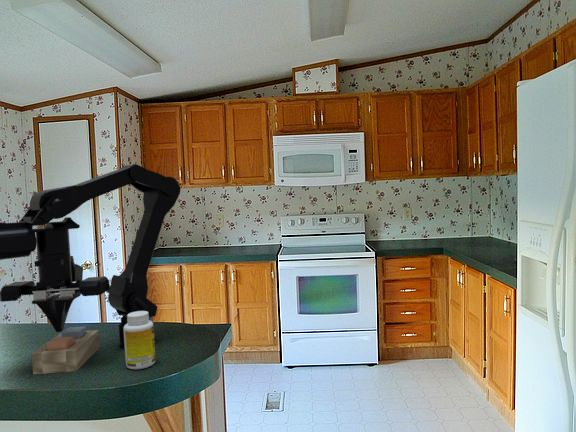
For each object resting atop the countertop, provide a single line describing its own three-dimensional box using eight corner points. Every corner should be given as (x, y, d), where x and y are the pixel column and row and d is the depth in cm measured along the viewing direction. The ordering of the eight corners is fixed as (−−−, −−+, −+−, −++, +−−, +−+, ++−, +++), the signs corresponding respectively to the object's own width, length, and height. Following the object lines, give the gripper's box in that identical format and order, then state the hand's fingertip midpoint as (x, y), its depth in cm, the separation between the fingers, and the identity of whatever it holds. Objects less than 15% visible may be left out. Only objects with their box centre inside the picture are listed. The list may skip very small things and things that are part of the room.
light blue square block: (86, 339, 94) (85, 326, 94) (79, 344, 91) (78, 331, 91) (69, 340, 94) (68, 327, 94) (62, 345, 90) (61, 332, 90)
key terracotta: (74, 350, 88) (73, 336, 88) (67, 356, 84) (66, 342, 84) (56, 351, 88) (55, 337, 87) (47, 357, 84) (46, 343, 84)
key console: (99, 347, 96) (98, 329, 96) (76, 370, 83) (75, 350, 83) (62, 350, 95) (61, 332, 95) (33, 374, 82) (31, 353, 82)
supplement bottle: (159, 365, 84) (156, 313, 83) (129, 373, 81) (125, 319, 80) (151, 357, 89) (148, 308, 88) (123, 364, 86) (119, 313, 85)
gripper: (115, 246, 94) (120, 317, 95) (25, 251, 92) (31, 323, 93) (97, 252, 83) (103, 332, 84) (-6, 258, 81) (1, 340, 82)
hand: (59, 331), depth 86 cm, fingers closed
